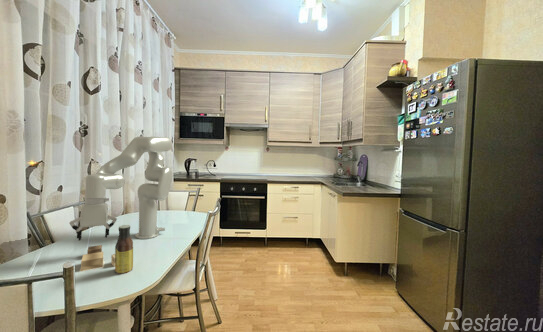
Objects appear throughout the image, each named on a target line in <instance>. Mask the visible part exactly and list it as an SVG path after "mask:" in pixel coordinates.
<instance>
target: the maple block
mask: <svg viewBox="0 0 543 332" xmlns="http://www.w3.org/2000/svg"><path fill="white" fill-rule="evenodd" d="M110 258H111V262H110V263H111V265H112V267H114V268H115V253H114V254H111V256H110Z"/></svg>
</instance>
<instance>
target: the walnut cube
mask: <svg viewBox="0 0 543 332" xmlns="http://www.w3.org/2000/svg"><path fill="white" fill-rule="evenodd" d="M102 247H103V244H99V245H93V246H91V245H90V246H88V247H87V253H86V254H92V253H98V252H103V251H102V249H103V248H102Z"/></svg>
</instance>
